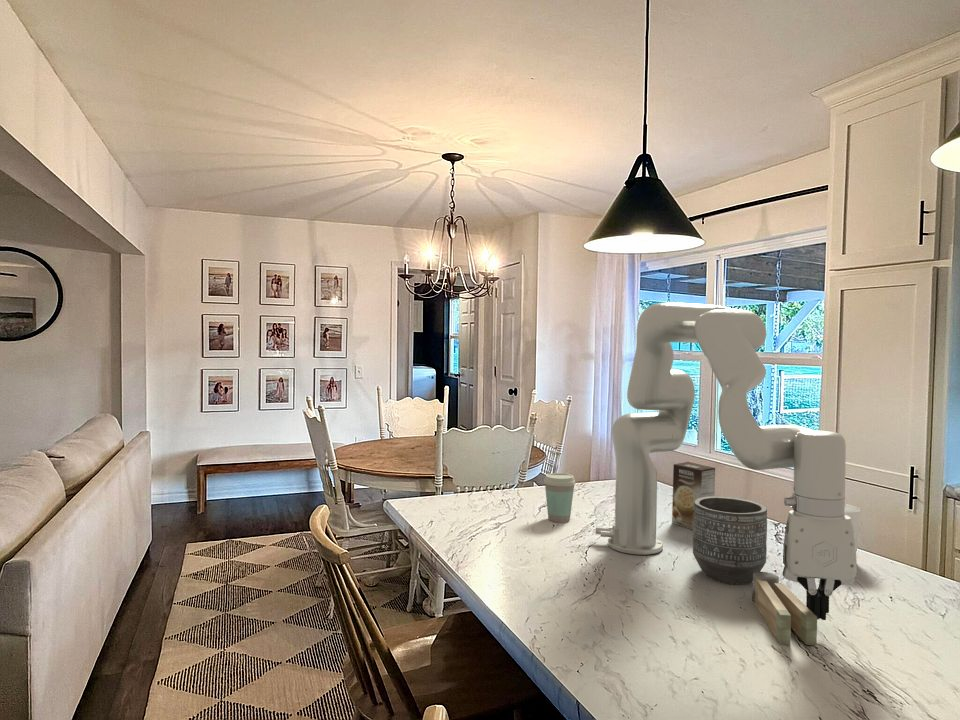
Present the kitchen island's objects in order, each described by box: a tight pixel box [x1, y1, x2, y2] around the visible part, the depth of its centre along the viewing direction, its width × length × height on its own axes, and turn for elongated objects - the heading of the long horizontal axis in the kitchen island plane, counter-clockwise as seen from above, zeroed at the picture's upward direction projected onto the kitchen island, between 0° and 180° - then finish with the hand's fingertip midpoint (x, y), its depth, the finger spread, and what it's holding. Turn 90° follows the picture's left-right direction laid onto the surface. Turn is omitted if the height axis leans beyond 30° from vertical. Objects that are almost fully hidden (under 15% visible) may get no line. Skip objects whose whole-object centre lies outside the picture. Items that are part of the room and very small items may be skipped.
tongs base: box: [751, 571, 792, 646], centre depth 110 cm, size 4×19×5 cm, turn 170°
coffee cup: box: [543, 472, 576, 524], centre depth 171 cm, size 8×8×12 cm
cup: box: [845, 503, 863, 552], centre depth 141 cm, size 9×9×12 cm
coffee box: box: [671, 461, 716, 530], centre depth 167 cm, size 9×6×16 cm
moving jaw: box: [774, 583, 818, 646], centre depth 108 cm, size 2×14×4 cm, turn 175°
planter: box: [692, 495, 768, 585], centre depth 131 cm, size 14×14×15 cm
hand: (817, 616), depth 105 cm, fingers closed
